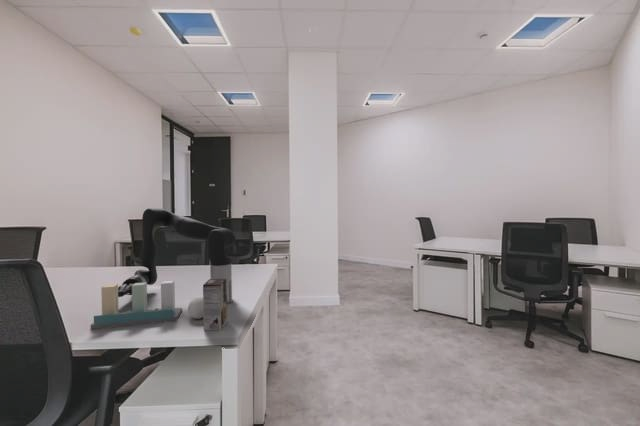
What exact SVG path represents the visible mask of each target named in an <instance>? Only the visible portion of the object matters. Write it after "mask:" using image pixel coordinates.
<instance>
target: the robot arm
mask: <svg viewBox="0 0 640 426" xmlns="http://www.w3.org/2000/svg"><path fill="white" fill-rule="evenodd" d="M141 220H142V221H141V227H142V228H141V232H142V234H141V235H142V237H141V238H142V248H141V254H140V261H139V264H140V266H141V267H144V268H147V269H138V270H136V271H135V272H134V275H132V276H130V277H128V278H127V279H125V280H124V281H123V282H122V284H121V285H118V298H122V297H124V296H132V285H133V284H135V283H145V282H147V286H149V285H150V286H152V285H154V284H156V282H157V279H158V271H157V257H158V247H157V246H158V245H157V244H156V241H155V238H154V235H153V231H154V227H166V228H170V229H173V230H174V232H175V233H176V234H177V235H179V236H182V237H185V238H187V239H191V240H192V239H193V240H200V241H206V242H207V243H206V245H207V257H208V260H209V263H210V264H209V266H210V267H209V269H210V270H209V272H210V273H209V275H210V278H209V279H226V286H227V304H229V303H233V279H232V278H233V277H232V257H231V256H228V255H227V254H226V249H228V248H231V247H232V246H233V245H234V244H235V242H236V235H235V234H234V232H233V230H231V229H229V228H225V227H220V226H219V227H218V226H215V225H210V224H208V223H205V222H202V221H199V220H197V219H194V218H192V217H187V216H184V215H180V214H176V213H173V212H171V211H170V210H167V209H164V208H155V207H154V208H153V207H152V208H146V209H145V210H144V211H143V213H142V218H141Z"/></svg>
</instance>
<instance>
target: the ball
mask: <svg viewBox="0 0 640 426" xmlns="http://www.w3.org/2000/svg"><path fill="white" fill-rule="evenodd" d="M187 313H188V315H189V316H190V317H191V318H192V319H197V320H200V319H202V318H203V319H204V305H203V297H202V296H201V297H199V296H198V297H195V298H193V299H192V300H191V301H190V302H189V303H188V305H187Z"/></svg>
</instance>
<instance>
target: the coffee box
mask: <svg viewBox="0 0 640 426" xmlns="http://www.w3.org/2000/svg"><path fill="white" fill-rule="evenodd" d="M202 288H203V289H202V291H203V293H202V296H203V297H202V298H203V305H204V317H203V331H205V332H207V331H221V330H223V328H224V327H225V326H226V323H227V322H228V303H227V286H226V279H210V278H209V279H208V280H207V281H206V282H205V283H204V284H203V285H202Z"/></svg>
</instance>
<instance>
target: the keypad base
mask: <svg viewBox="0 0 640 426" xmlns="http://www.w3.org/2000/svg"><path fill="white" fill-rule="evenodd" d="M182 312H183V307H175V311H174V312H173V309H168V310H161V308H154V309H147V311H145V312H133V313H132V310H126V311H125V312H119V314H109V315H102V314H100V315H99V314H98V315H93V323H91V324H90V330H94V329H107V328H116V327H118V328H119V327H127V326H137V325H151V324H159V323H161V324H162V323H169V322H171V323H172V322H177V320H178V319H179V317H180V315H181V314H182Z"/></svg>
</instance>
